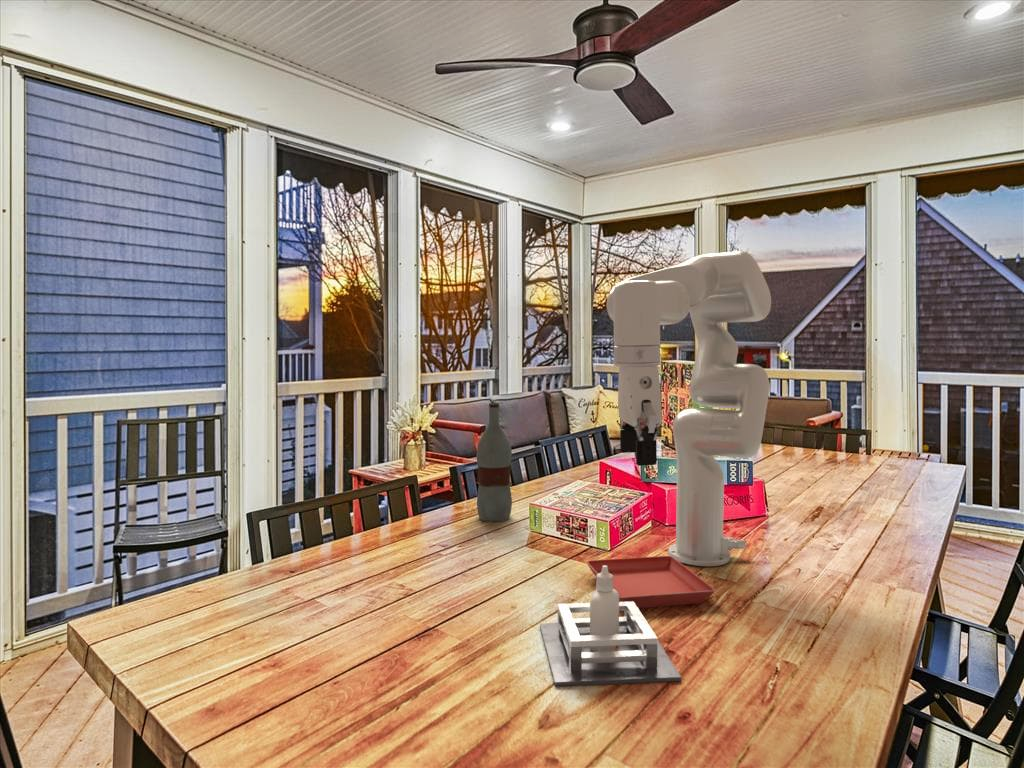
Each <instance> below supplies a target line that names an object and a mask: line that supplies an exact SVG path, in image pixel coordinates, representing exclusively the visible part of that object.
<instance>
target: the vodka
mask: <svg viewBox="0 0 1024 768" xmlns="http://www.w3.org/2000/svg"><path fill="white" fill-rule="evenodd" d="M488 406H489V407H488V410H489V411H488V425H487V427H486V428H485V429H484V432H483V433H482V435H481V437H480V439H479V440H478V442H477V448H476V462H477V474H478V475H477V476H478V489H477V497H476V509H477V515H478V518H479V520H481V519H482V520H481V521H483V520H485V521H484V522H488V521H499V522H503V521H502V520H505V521H507V520H506V519H508V518H509V519H510V517H511V514H512V507H513V498H512V491H511V484H510V483H511V481H510V480H511V468H512V457H513V451H512V445H511V441H510V438H509V437H508V435H507V434H506V432H505V431H504V429H503V428H502V425H501V424H500V403H498V402H489V404H488ZM509 519H508V520H509Z"/></svg>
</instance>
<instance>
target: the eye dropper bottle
mask: <svg viewBox="0 0 1024 768" xmlns="http://www.w3.org/2000/svg"><path fill="white" fill-rule="evenodd" d="M589 603H590V612H589V618H590V635H613V634H619V617H620V611H619V594H618V592H617V591H616V590H615V589H613V575H612V574H610V573H609V572H608V567H607V566H606V565H604V566H602V571H601V573H598V574H597V577H596V589H595V591H594V592H593V593H592V595H591V598H590V601H589ZM616 646H617V645H613V646H590V650H591V651H594V652H607V651H612V650H613V649H615V648H616Z"/></svg>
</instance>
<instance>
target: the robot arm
mask: <svg viewBox="0 0 1024 768" xmlns="http://www.w3.org/2000/svg"><path fill="white" fill-rule="evenodd" d="M771 295H772V294H771V291H770V288H769V285H768V284H767V281H766V279H765V277H764V274H763V272H762V270H761V268H760V265H759V264H758V262H757V260H756V259H755V258H754V257H753V256H752V255H751V254H750V253H748V252H746V251H744V250H738V251H725V252H715V253H705V254H700V255H695V256H694V257H691V258H689V259H687V260H686V261H684V262H681V263H679V264H676V265H674V266H669V267H665V268H662V269H659V270H655V271H652V272H647V273H644V274H639V275H635V276H632V277H629V278H627V279H623V280H622V281H620V282H617V283H616V284H615V285H614V286H613V287H612V288H611V290H609V293H608V295H607V298H606V311H607V314H608V316H609V318H610V320H611V321H613V366H615V367H618V375H617V376H618V383H617V385H618V386H617V409H618V417H619V419H620V423H619V428H620V429H619V434H620V435H619V439H620V440H619V441H620V443H619V447H620V449H619V451H620V452H621V453H622V454H629V453H631V454H632V453H635V464H636V466H638V467H639V466H655V465H657V463H658V461H657V458H658V457H657V451H658V449H657V443H658V442H657V440H658V435H657V431H658V428H657V427H660V426H661V424H662V423H663V419H662V418H663V416H662V395H661V394H662V393H661V381H660V374H659V367H658V366H660V365H661V326H663V325H665V326H668V325H675V324H678V323H680V322H682V321H684V320H685V319H686V317H687V316H688V314H689V316H690V320H691V323H692V327H693V330H694V333H695V336H696V339H697V340H696V341H697V349H696V356H695V359H694V360H695V361H694V364H693V370H692V372H691V373H692V374H691V378H690V384H689V396H690V399H691V400H692V402H693V403H694V404H697V405H699V406H701V407H708V408H701V407H692V408H686V409H684V410H683V409H682V410H681V411H679V412H678V413H677V414H676V416H675V417H674V419H673V423H672V434H673V435H672V436H673V442H674V447H675V455H676V510H675V512H676V513H675V514H676V517H675V518H676V520H675V526H676V528H675V543H673V544H671V545H670V546H669V547H668V551H667V553H668V556H672V557H674V558H675V559H676V560H678V561H679V562H680V563H682V564H685V565H689V566H697V567H719V566H722V565H725V564H728V563H729V562H730V560H731V553H730V552H731V550H745V549H746V547H747V544H746V543H747V542H746V541H745V539H735V537H731V536H729V537H728V536H727V537H726V536H724V506H725V505H724V503H725V502H724V499H725V498H724V494H725V478H724V473H723V469H722V468H721V466H720V464H719V463H718V461H717V460H716V458H715V457H716V456H718V457H728V458H729V457H730V458H735V459H736V458H737V459H750V458H752V457H755V456H756V455H757V454H758V452H759V450H760V447H761V444H762V439H763V433H764V427H765V420H766V415H767V409H768V402H769V396H770V395H769V394H770V382H769V376H768V374H767V371H766V370H765V368H763V366H760V365H759V364H752V363H737V359H738V355H739V346H738V343H737V341H736V340H735V338H734V337H733V336H732V334H731V333H730V332H729V331H728V330H727V329H726V328H725V327H724V326H723V325H722V323H751V322H752V323H754V322H759V321H763V320H764V319H765V318H767V316H768V315H769V313H770V312H771V308H772V296H771ZM719 408H721V409H719ZM722 408H723V409H722ZM732 409H735V410H732ZM642 429H643V430H642Z"/></svg>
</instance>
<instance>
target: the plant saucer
mask: <svg viewBox="0 0 1024 768" xmlns="http://www.w3.org/2000/svg"><path fill="white" fill-rule="evenodd" d="M586 564H587V566H588V568H589V569H590V571H591V572H592V573H593V575H594V576H595V578H597V574H598V573H601V571H602V566H604V565H606V566H607V567H608V572H609V573H610V574H612V575H613V589H615V590H616V591H617V592H618V594H619V602H631V601H634V603H635V604H636V606H637V607H638V609H644V608H653V607H654V608H655V607H669V606H678V605H682V606H683V605H692V604H701V603H703V602H704V601H706V600H707V599H708V598H709V597H711V596H712V595H713V594H714V593H715V592H716V588H715V587H713V586H712V585H710V584H709V583H708V582H707V581H705V580H704V579H702V578H701V577H700V576H699V575H697V574H696V573H695V572H693V571H692V570H691V569H689V568H688V567H687V566H686V565H684V563H681V562H679V561H678V560H676V559H675V558H674V557H672V556H669V555H657V556H645V557H644V556H642V557H641V556H640V557H625V558H624V557H623V558H610V559H609V558H608V559H606V558H605V559H595V560H594V559H593V560H588V561H586Z"/></svg>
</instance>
